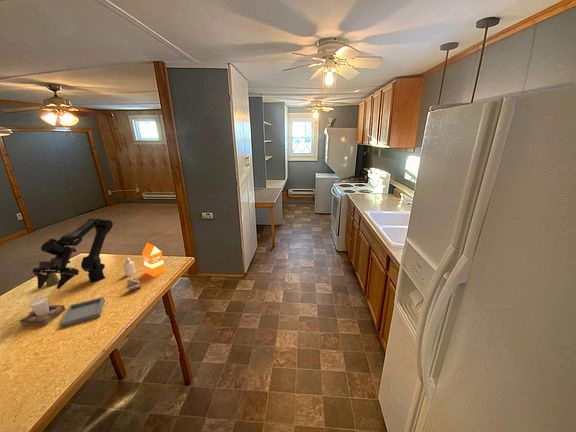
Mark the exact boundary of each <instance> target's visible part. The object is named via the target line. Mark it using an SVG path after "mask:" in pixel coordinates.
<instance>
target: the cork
mask: <svg viewBox="0 0 576 432" xmlns="http://www.w3.org/2000/svg"><path fill="white" fill-rule="evenodd" d="M47 269H48V268H47ZM48 276H49V278H48V279H47V281H46V282H45V286H46V287H53V286H56V285H58V283H59V280H60V278H59V277H58V274H57V273H51V274H49V275H48Z"/></svg>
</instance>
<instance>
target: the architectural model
mask: <svg viewBox="0 0 576 432" xmlns="http://www.w3.org/2000/svg"><path fill="white" fill-rule="evenodd" d="M126 283H127V285H126V286H125V290H128V291H133V290H136V291H137V290H138V289H142V287H141V283H140V281H139V276H135V277H132V278H128V279H126Z"/></svg>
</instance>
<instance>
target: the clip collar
mask: <svg viewBox="0 0 576 432" xmlns="http://www.w3.org/2000/svg"><path fill="white" fill-rule="evenodd" d="M48 305H49V313H48V315H47V316H45V317H44V318H38V317H37V315H36V314H35V312H34V311H33V309H32V310H31V311H29V312H28V314H27V315H26V316H25V317H22V318H21V319H20V320H19V323H20V324H21V326H23V327H32V326H33V327H44V326H47V325H48V324H50V323H51V322H52V321H53V320H55V319H57V317H59V316H60V315H61V314H62V313H63V312H65V311H66V307H65V305H64V304H55V303H49V304H48Z"/></svg>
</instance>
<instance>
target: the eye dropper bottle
mask: <svg viewBox="0 0 576 432" xmlns="http://www.w3.org/2000/svg"><path fill="white" fill-rule="evenodd" d="M124 262H125V263H124V264H123V269H124V274H125V276H126V277H129V276H130V277H131V276H132V275H135V274H136V273H137V272H136V266H135V262H134V261H133V260H132V261H131V258H129V257H128V256H126V259H125V261H124Z"/></svg>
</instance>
